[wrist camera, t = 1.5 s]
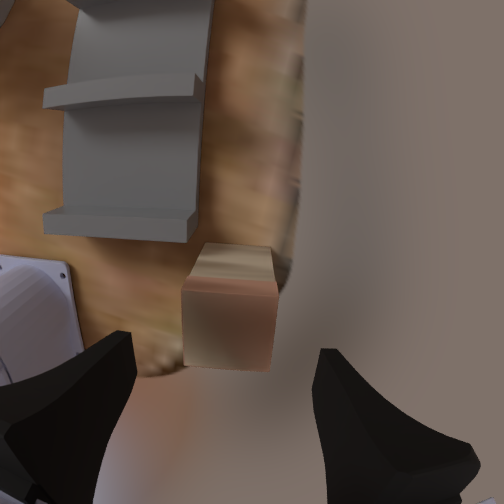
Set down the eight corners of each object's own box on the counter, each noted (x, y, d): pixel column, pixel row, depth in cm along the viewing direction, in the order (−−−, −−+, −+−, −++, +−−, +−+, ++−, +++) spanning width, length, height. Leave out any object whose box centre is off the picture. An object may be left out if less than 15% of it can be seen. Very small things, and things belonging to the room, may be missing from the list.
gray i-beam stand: (197, 226, 20) (186, 242, 16) (72, 220, 19) (44, 233, 16) (216, -17, 14) (210, -43, 11) (89, -1, 14) (65, -18, 11)
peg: (265, 304, 21) (269, 372, 15) (203, 300, 21) (183, 365, 15) (270, 245, 20) (279, 296, 13) (204, 241, 20) (180, 289, 13)
